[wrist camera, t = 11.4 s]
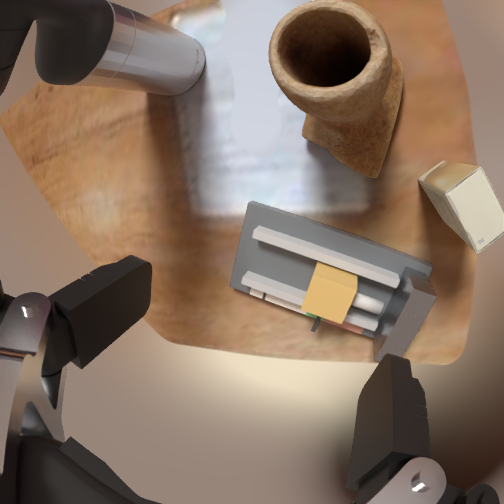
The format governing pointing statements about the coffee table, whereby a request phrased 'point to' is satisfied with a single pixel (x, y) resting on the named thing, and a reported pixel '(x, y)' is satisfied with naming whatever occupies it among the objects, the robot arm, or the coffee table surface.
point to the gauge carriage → (335, 294)
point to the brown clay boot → (339, 79)
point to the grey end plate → (404, 314)
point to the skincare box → (465, 202)
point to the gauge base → (313, 263)
